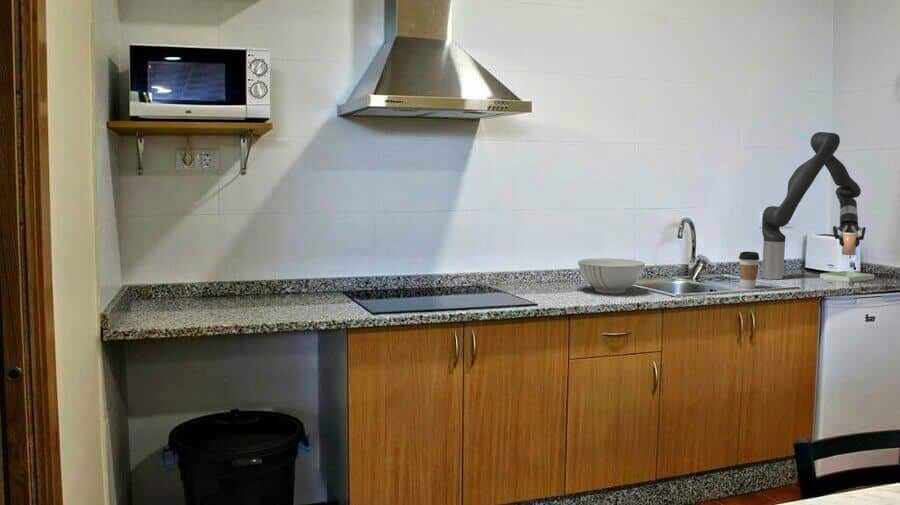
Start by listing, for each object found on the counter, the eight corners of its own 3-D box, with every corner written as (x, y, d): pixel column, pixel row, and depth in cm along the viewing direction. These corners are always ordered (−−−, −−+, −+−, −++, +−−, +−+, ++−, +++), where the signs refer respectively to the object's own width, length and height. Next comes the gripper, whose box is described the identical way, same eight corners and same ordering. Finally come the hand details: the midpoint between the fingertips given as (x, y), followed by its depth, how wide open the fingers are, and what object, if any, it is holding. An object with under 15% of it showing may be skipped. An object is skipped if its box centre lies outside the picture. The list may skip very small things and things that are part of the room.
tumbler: (842, 254, 355) (843, 233, 354) (841, 253, 361) (842, 232, 360) (855, 255, 353) (857, 233, 352) (854, 254, 358) (856, 232, 357)
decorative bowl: (578, 295, 308) (578, 265, 306) (576, 285, 334) (577, 257, 333) (647, 297, 304) (648, 266, 303) (640, 287, 330) (641, 258, 329)
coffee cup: (759, 287, 333) (761, 252, 331) (755, 289, 326) (757, 254, 324) (739, 285, 338) (741, 251, 336) (735, 287, 330) (736, 252, 329)
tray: (848, 283, 347) (849, 277, 347) (819, 279, 359) (820, 273, 359) (873, 279, 358) (874, 274, 357) (844, 276, 369) (845, 270, 369)
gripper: (832, 211, 364) (832, 239, 355) (867, 212, 359) (868, 240, 349) (831, 222, 370) (831, 249, 360) (864, 223, 364) (866, 251, 355)
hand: (849, 245), depth 355 cm, fingers closed on tumbler, 5 cm apart
